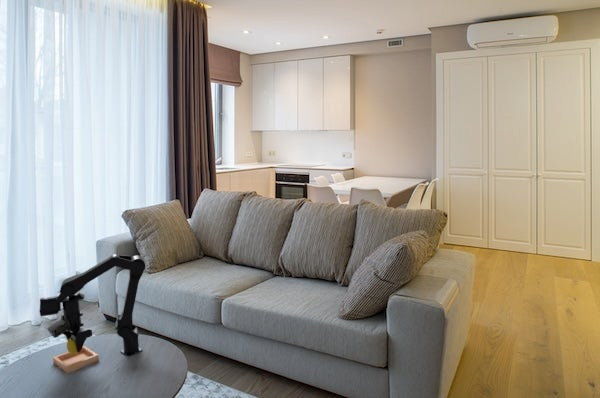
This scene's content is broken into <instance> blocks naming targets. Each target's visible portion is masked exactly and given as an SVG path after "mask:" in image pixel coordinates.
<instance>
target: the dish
mask: <svg viewBox="0 0 600 398" xmlns="http://www.w3.org/2000/svg"><path fill="white" fill-rule="evenodd" d="M99 361H100V357H99V354H98V353H97V352H94V351H93V350H91V349H90V348H89V347H87V346H85V345H83V348H82V350H81V352H79V353H78V354H77V355H75V354H71V353H70V352H69V351H66V352H64V353H61V354H58V355H55V356H53V357H52V363H53V364H54V365H55V366H56V367H58V368H59V369H60V370H61V371H63V372H64V373H65V374H70V373H72V372H75V371H77V370H79V369H82V368H84V367H87V366H89V365H92V364H95V363H97V362H99Z"/></svg>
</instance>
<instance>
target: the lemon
mask: <svg viewBox="0 0 600 398" xmlns="http://www.w3.org/2000/svg"><path fill="white" fill-rule="evenodd" d="M70 338H72V337H70ZM70 338H69V340H68V341H67V342H66V349H67V352H70V353H71V354H75V355H77V354H78V353H79V352H77V350H76V346H75V342H74V341H73V340H71V339H70ZM82 348H83V347H82ZM81 350H82V349H81Z"/></svg>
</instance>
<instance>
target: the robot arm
mask: <svg viewBox="0 0 600 398" xmlns="http://www.w3.org/2000/svg"><path fill="white" fill-rule="evenodd" d="M115 267H116V268H117V267H118V268H120V269H125V270H128V274H129V275H128V277H129V278H128V281H127V282H128V283H127V287H126V292H125V293H126V294H125V299H124V303H123V307H122V311H121V313H120V314H116V321H115V323H114V329H115V331H116V334H117V335H118V337H119V338H122V343H123V349H121V350H120V353H121V354H124V355H125V356H127V357H130V356H134V355H135V354H137V353H141V352H142V351H143V348H141V347H140V344H139V331H138V330H139V329H138V326H136V325H135V324H133V323H134V322H133V313H134V308H135V303H136V298H137V292H138V288H139V282H140V280H141V278H142V277H143V274H144V272H145V269H146V262H145V259H144V258H143V256H141V255H137V254H136V255H133V256H132V255H126V254H125V255H120V254H116V253H115V254H114V253H113V254H112V255H110V256H109V257H108V258H106V259H104V260H101V262H99V263H97V264H95V265H94V266H93V267H91V268H89V269H86V271H84V272H81V273H78V274H75V275H72V276H70V277H66V278H65V279H63V280H62V282H61V287H60V290H59V291H58V292H57V295H55V296H50V297H45V296H44V297H40V299H39V310H38V311H39V316H40V317H47V316H54V315H58V314H60V312H61V311H63V312H62V313H63V314H61V315H60V319H59V320H58V321H55V322H54V323H53V324H51V325H49V326H48V327H47V332H49V334H50V336H51V337H53V338H55V339H56V338H58V337H60V336H61V335H64V336H65V339H66V341H67V342H68V340H69V338H70V337H72V338H70V339H71V340H73V341H74V342H75V346H76V350H77V352H81V349H82V347H83V346H85V342H86V340H87V338H91V337H92V336H93V330H92V329H90V328H88V327H86V326H84V325H85V324H84V323H83V321H82V317H83V312H81V304H80V301H82V300H84V299H85V295H84V294H83V293H81V292H80V291H81V290H82V289H84V287H85V286H86V285H87V284H88V283H90V282H92V281H93V280H95V279H96V278H98V277H99V276H101V275H103V274H104V273H106V272H108V271H110V270H111V269H114V268H115Z"/></svg>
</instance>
